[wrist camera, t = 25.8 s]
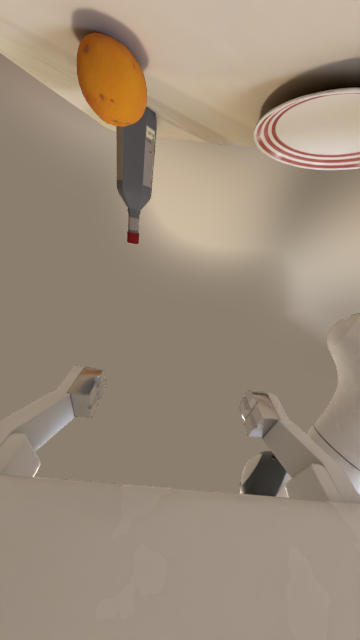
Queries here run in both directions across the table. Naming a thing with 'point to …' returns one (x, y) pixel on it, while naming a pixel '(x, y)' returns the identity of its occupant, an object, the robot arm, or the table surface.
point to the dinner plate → (314, 130)
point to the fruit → (111, 80)
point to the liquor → (136, 167)
